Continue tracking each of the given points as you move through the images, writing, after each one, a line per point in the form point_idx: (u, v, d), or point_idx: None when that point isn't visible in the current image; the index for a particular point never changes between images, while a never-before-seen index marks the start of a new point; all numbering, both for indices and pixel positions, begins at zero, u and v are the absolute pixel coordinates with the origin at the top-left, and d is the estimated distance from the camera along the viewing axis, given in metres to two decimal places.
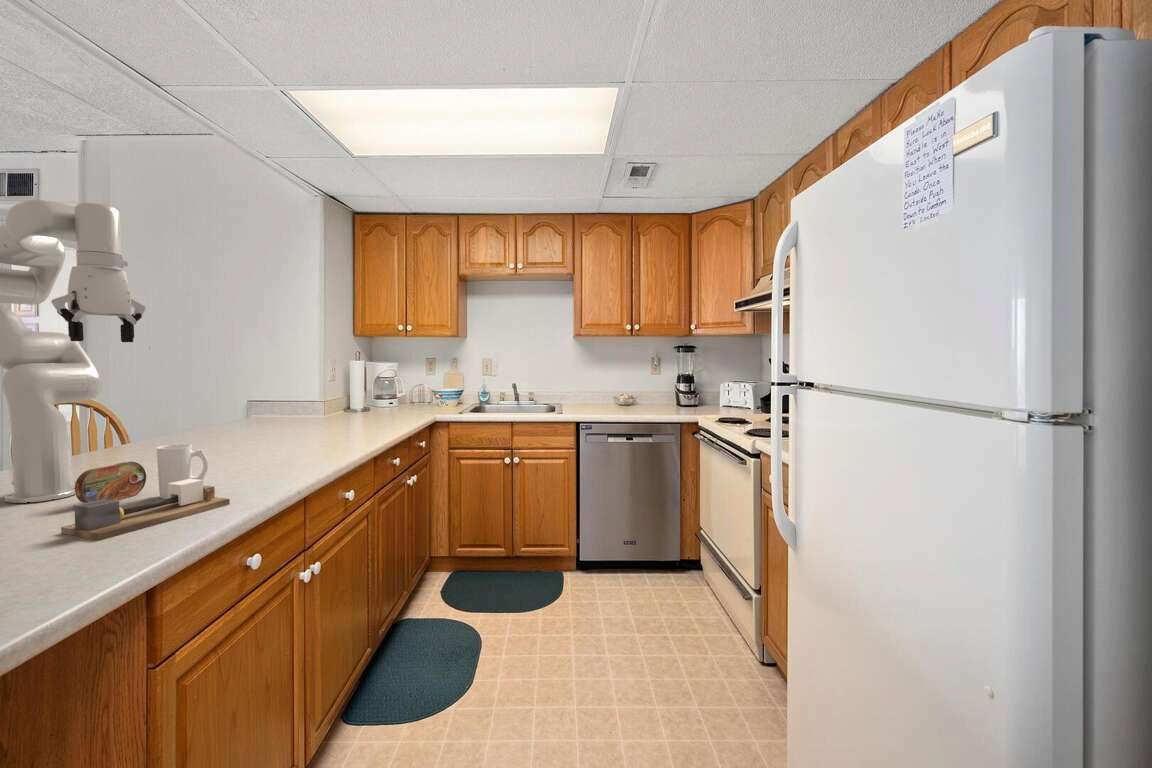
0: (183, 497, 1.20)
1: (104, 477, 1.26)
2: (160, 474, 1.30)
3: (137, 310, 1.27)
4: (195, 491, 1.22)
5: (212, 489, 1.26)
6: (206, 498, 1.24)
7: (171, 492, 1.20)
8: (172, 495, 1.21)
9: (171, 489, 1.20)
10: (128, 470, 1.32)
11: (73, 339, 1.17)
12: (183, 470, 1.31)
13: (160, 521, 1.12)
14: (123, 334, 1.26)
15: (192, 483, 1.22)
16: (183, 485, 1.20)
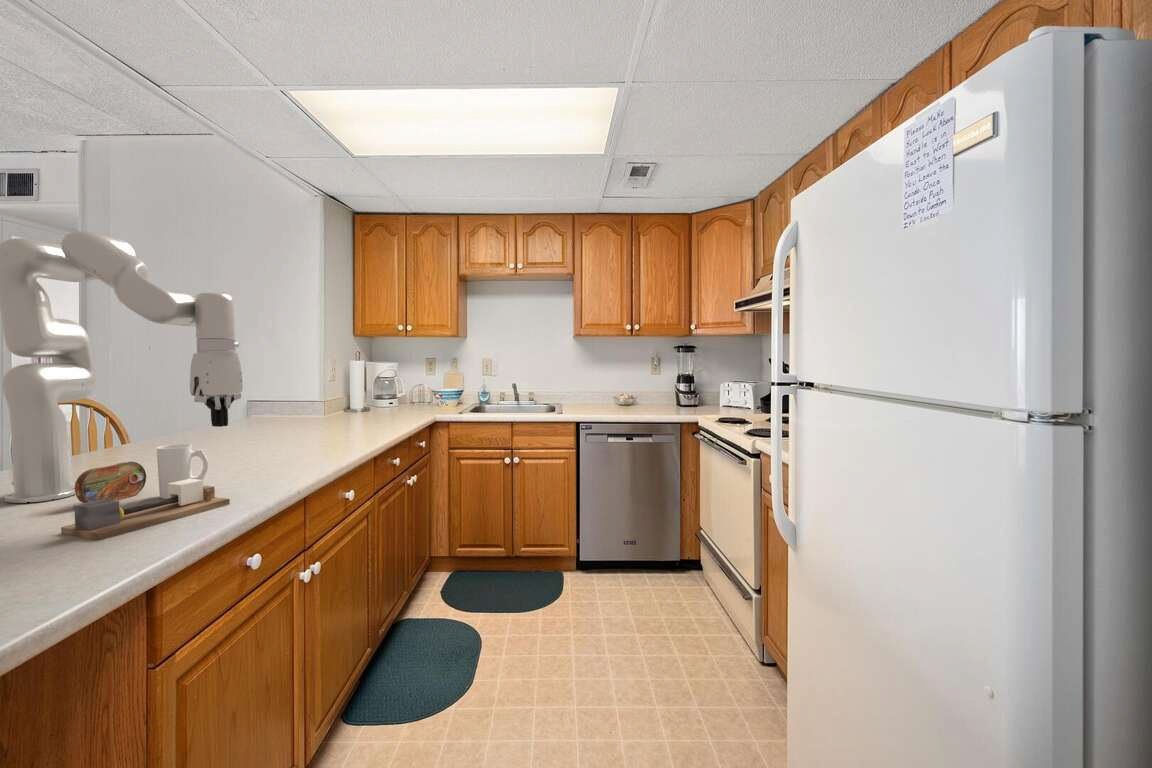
0: (183, 497, 1.20)
1: (104, 477, 1.26)
2: (160, 474, 1.30)
3: (233, 395, 1.32)
4: (195, 491, 1.22)
5: (212, 489, 1.26)
6: (206, 498, 1.24)
7: (171, 492, 1.20)
8: (172, 495, 1.21)
9: (171, 489, 1.20)
10: (128, 470, 1.32)
11: (215, 424, 1.28)
12: (183, 470, 1.31)
13: (160, 521, 1.12)
14: None
15: (192, 483, 1.22)
16: (183, 485, 1.20)
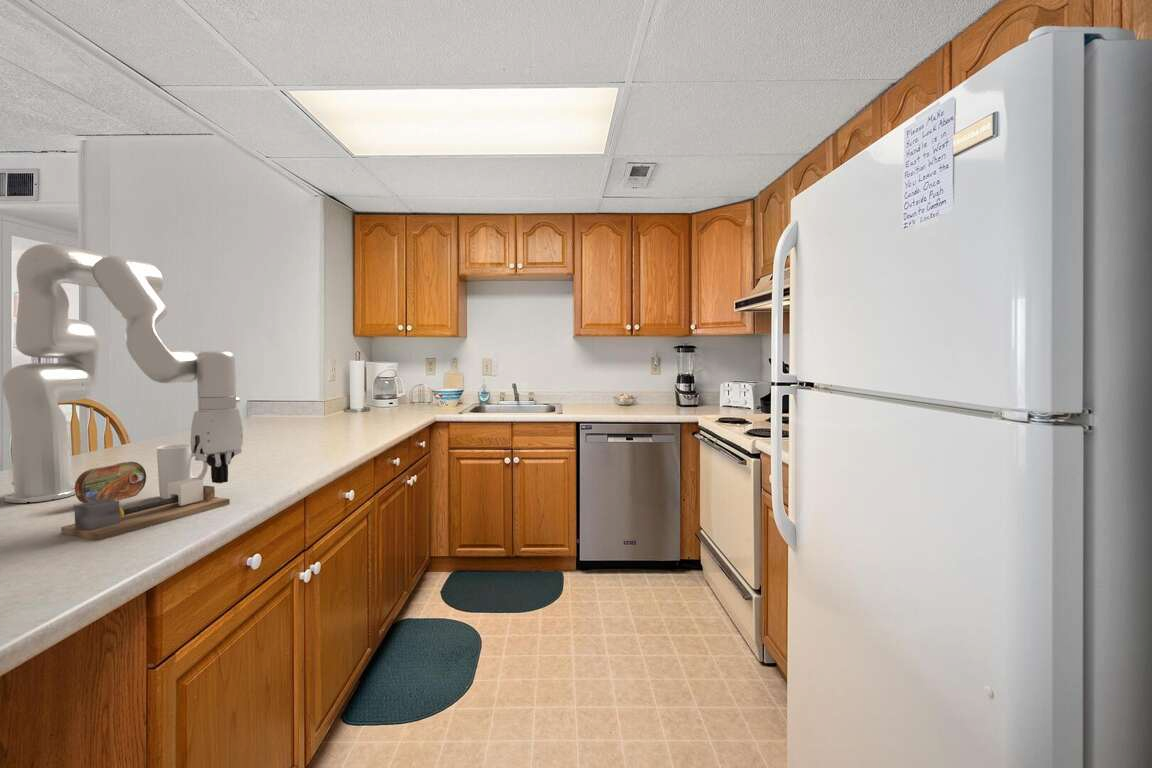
0: (183, 497, 1.20)
1: (104, 477, 1.26)
2: (160, 474, 1.30)
3: (234, 450, 1.33)
4: (195, 491, 1.22)
5: (212, 489, 1.26)
6: (206, 498, 1.24)
7: (171, 492, 1.20)
8: (172, 495, 1.21)
9: (171, 489, 1.20)
10: (128, 470, 1.32)
11: (215, 481, 1.29)
12: (183, 470, 1.31)
13: (160, 521, 1.12)
14: None
15: (192, 483, 1.22)
16: (183, 485, 1.20)
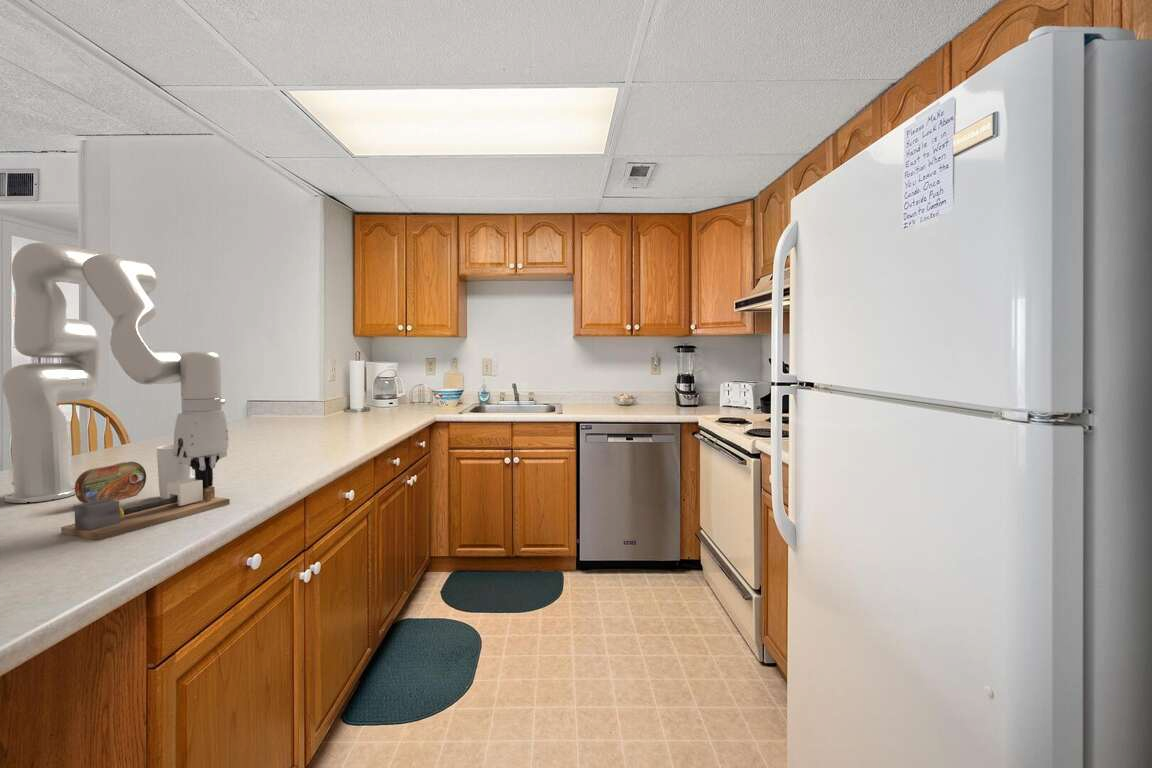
0: (183, 497, 1.20)
1: (104, 477, 1.26)
2: (160, 474, 1.30)
3: (219, 453, 1.29)
4: (194, 491, 1.22)
5: (212, 489, 1.26)
6: (206, 498, 1.24)
7: (170, 492, 1.20)
8: (171, 495, 1.20)
9: (171, 489, 1.20)
10: (128, 470, 1.32)
11: None
12: (183, 470, 1.31)
13: (160, 521, 1.12)
14: None
15: (191, 483, 1.21)
16: (182, 485, 1.20)
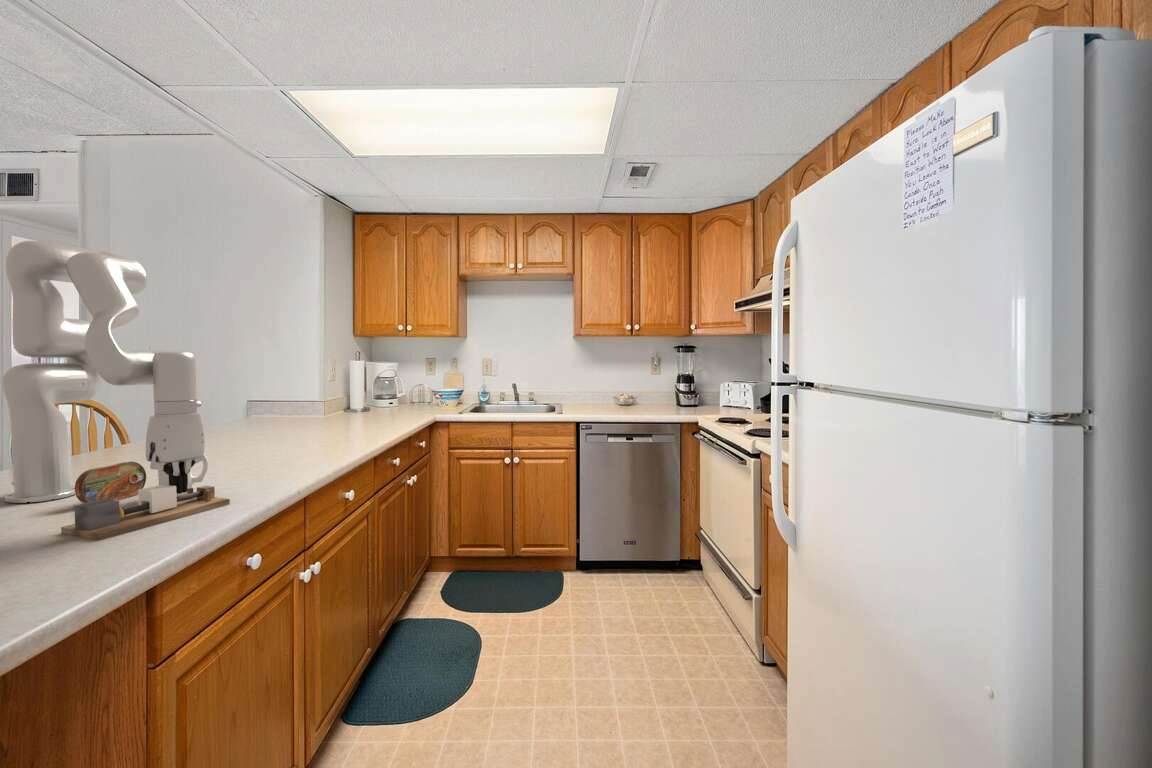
0: (155, 504, 1.14)
1: (104, 477, 1.26)
2: (160, 474, 1.30)
3: (194, 458, 1.24)
4: (167, 498, 1.17)
5: (212, 489, 1.26)
6: (206, 498, 1.24)
7: (142, 499, 1.15)
8: (143, 502, 1.15)
9: (142, 496, 1.14)
10: (128, 470, 1.32)
11: None
12: None
13: (160, 521, 1.12)
14: None
15: (164, 489, 1.16)
16: (154, 491, 1.14)
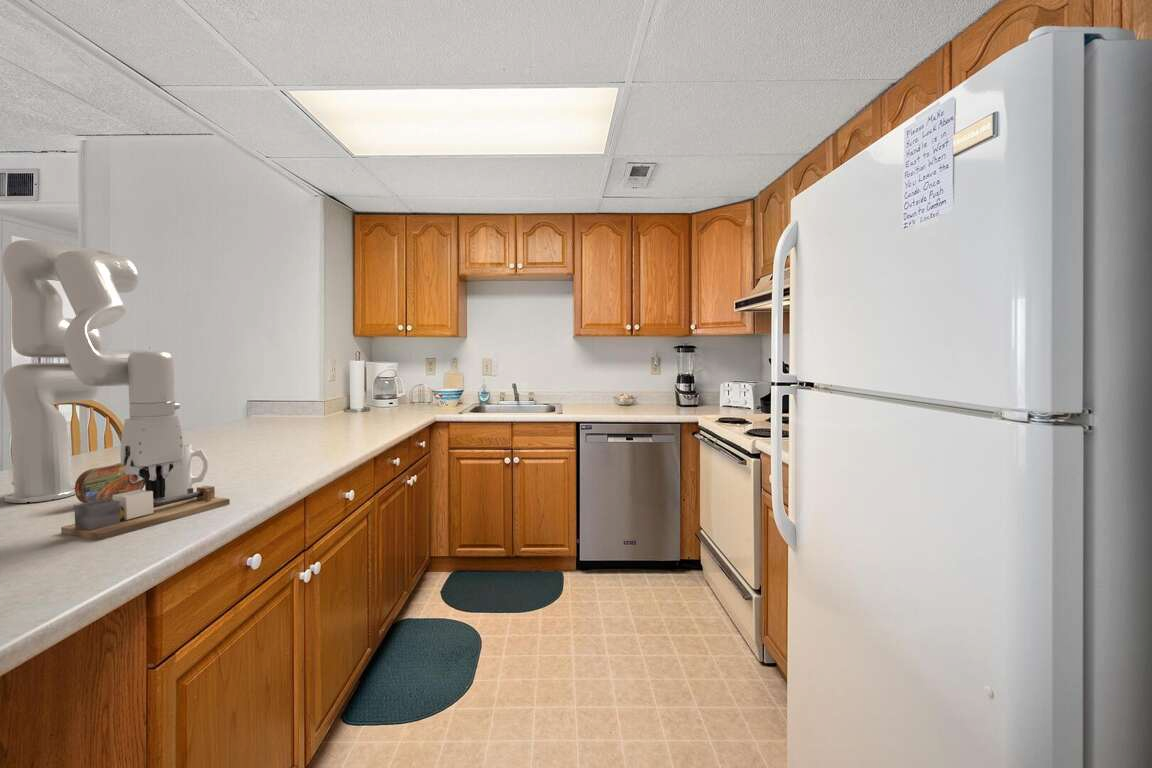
0: (129, 510, 1.10)
1: (104, 477, 1.26)
2: None
3: (173, 461, 1.19)
4: (143, 503, 1.12)
5: (212, 489, 1.26)
6: (206, 498, 1.24)
7: None
8: None
9: None
10: None
11: None
12: (183, 470, 1.31)
13: (160, 521, 1.12)
14: None
15: (140, 495, 1.11)
16: (129, 497, 1.10)
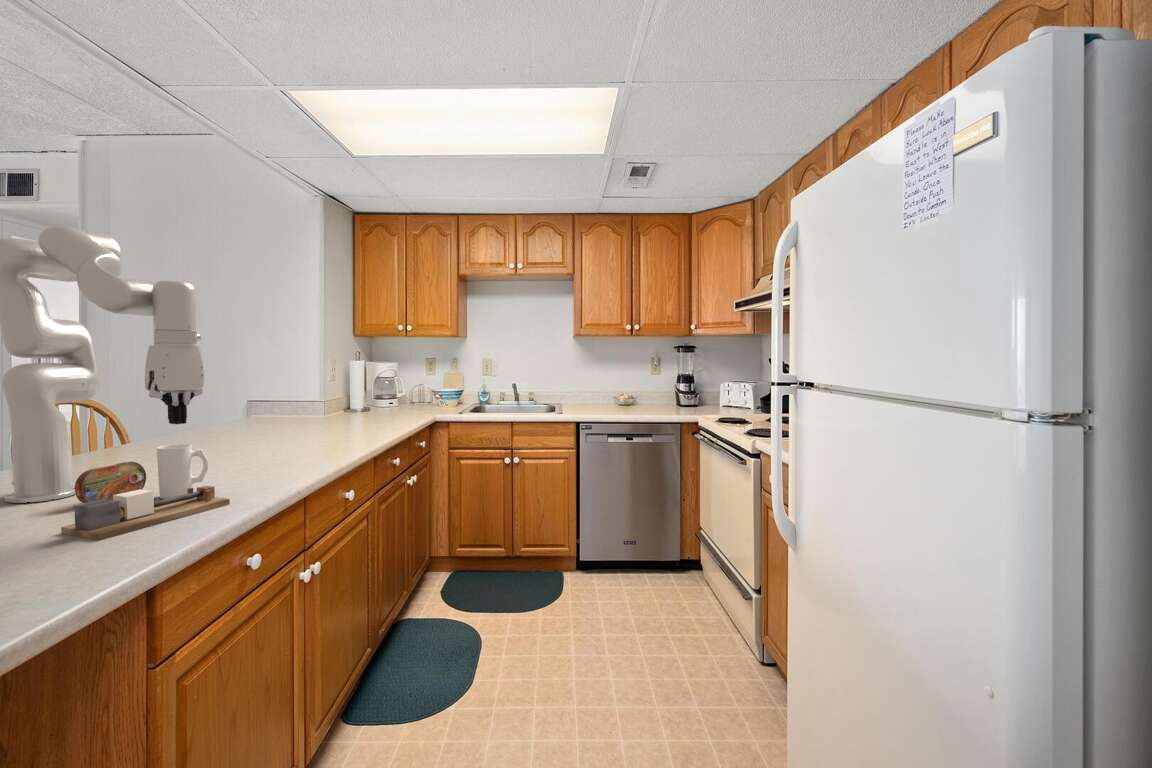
0: (130, 510, 1.10)
1: (104, 477, 1.26)
2: (160, 474, 1.30)
3: (194, 390, 1.24)
4: (144, 503, 1.12)
5: (212, 489, 1.26)
6: (206, 498, 1.24)
7: None
8: None
9: None
10: (128, 470, 1.32)
11: (172, 422, 1.20)
12: (183, 470, 1.31)
13: (160, 521, 1.12)
14: None
15: (140, 494, 1.12)
16: (130, 497, 1.10)
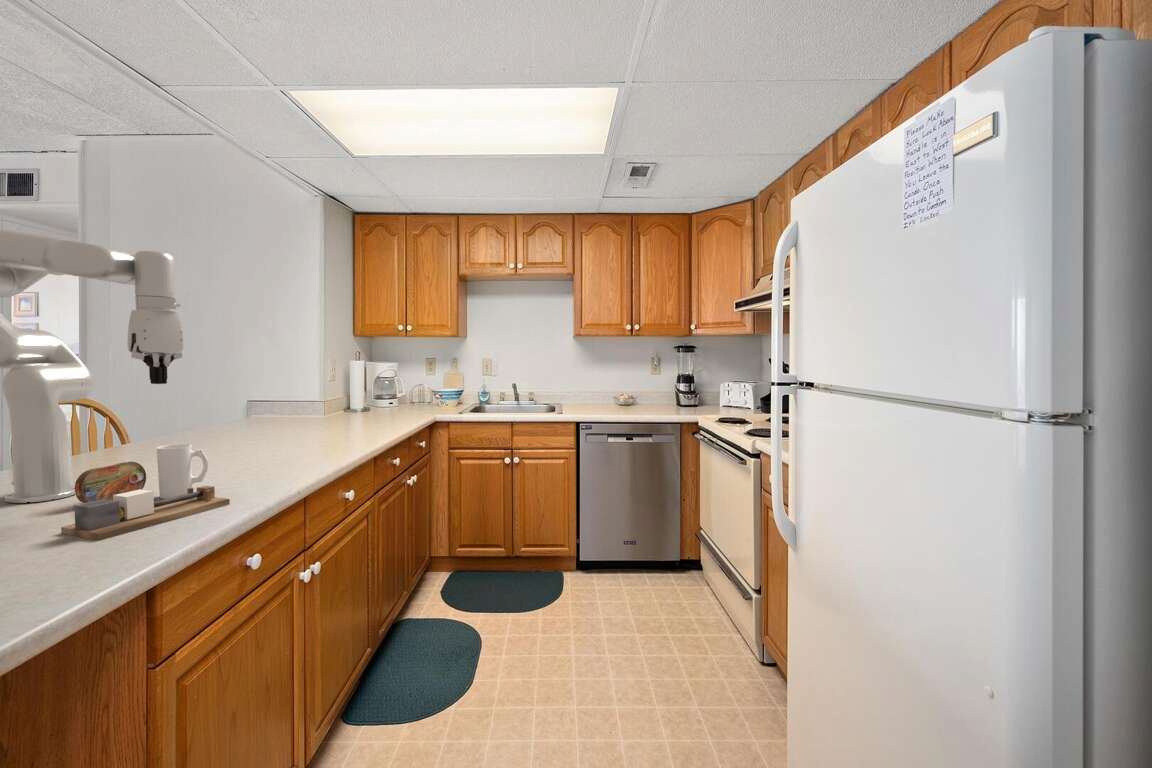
0: (130, 510, 1.10)
1: (104, 477, 1.26)
2: (160, 474, 1.30)
3: (174, 354, 1.33)
4: (144, 503, 1.12)
5: (212, 489, 1.26)
6: (206, 498, 1.24)
7: None
8: None
9: None
10: (128, 470, 1.32)
11: (153, 382, 1.30)
12: (183, 470, 1.31)
13: (160, 521, 1.12)
14: None
15: (140, 494, 1.12)
16: (130, 497, 1.10)
